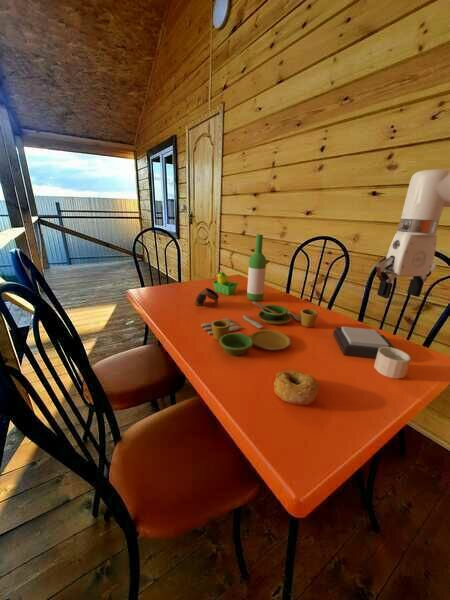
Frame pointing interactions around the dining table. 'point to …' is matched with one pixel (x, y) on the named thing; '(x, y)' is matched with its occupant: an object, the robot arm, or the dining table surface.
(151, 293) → the dining table surface
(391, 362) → the bowl
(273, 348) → the tableware set
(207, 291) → the dark brown arch
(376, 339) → the weigh platform
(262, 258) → the wine bottle
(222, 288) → the fruit basket
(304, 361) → the dining table surface
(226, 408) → the dining table surface
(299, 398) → the bagel
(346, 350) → the scale
